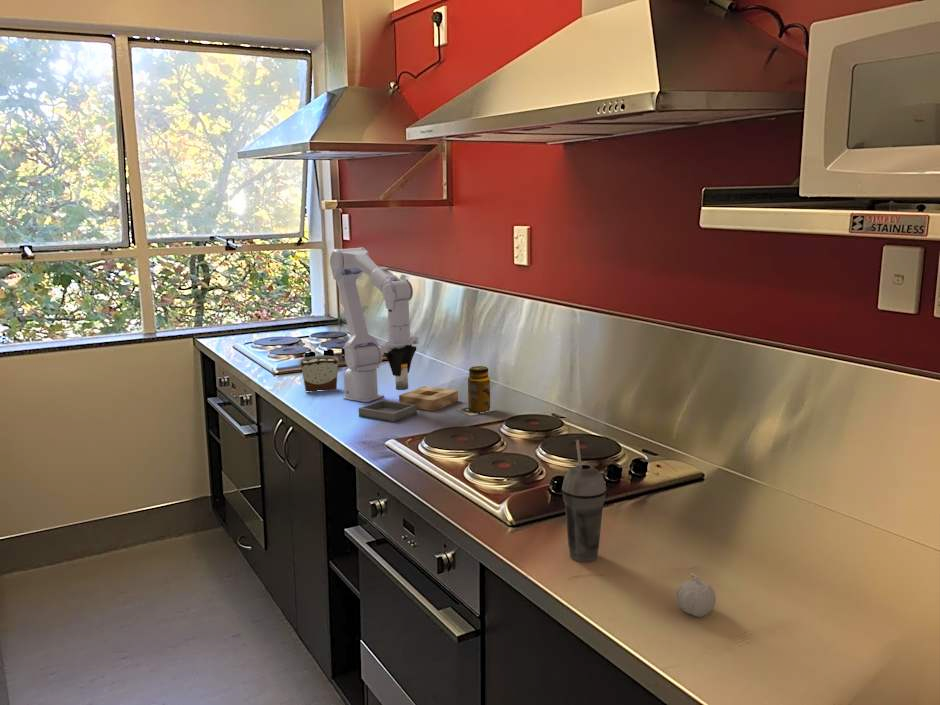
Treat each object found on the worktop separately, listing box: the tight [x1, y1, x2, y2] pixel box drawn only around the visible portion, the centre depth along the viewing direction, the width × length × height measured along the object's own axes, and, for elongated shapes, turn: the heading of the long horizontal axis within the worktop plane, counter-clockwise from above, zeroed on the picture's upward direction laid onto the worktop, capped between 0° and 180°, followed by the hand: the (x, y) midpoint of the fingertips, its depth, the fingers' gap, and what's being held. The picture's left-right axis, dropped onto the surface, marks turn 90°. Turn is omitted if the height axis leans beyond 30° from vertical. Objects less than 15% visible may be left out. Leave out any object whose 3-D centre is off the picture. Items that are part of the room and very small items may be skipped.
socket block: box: [398, 385, 459, 412], centre depth 229 cm, size 12×12×3 cm
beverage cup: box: [560, 439, 608, 563], centre depth 130 cm, size 7×7×20 cm
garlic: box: [675, 572, 717, 618], centre depth 114 cm, size 6×5×5 cm
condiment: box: [456, 365, 491, 417], centre depth 220 cm, size 7×8×12 cm
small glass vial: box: [394, 362, 409, 391], centre depth 220 cm, size 3×3×7 cm
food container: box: [298, 355, 341, 392], centre depth 248 cm, size 12×6×10 cm, turn 108°
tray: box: [358, 399, 418, 423], centre depth 218 cm, size 12×10×2 cm
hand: (401, 374), depth 220 cm, fingers closed on small glass vial, 3 cm apart
